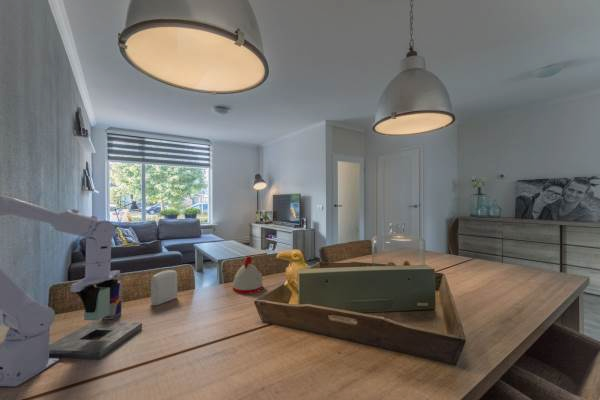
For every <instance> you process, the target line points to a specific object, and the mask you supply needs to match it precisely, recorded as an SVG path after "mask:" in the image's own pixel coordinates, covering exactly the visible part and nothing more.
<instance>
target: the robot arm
mask: <svg viewBox="0 0 600 400" xmlns="http://www.w3.org/2000/svg"><path fill="white" fill-rule="evenodd" d="M79 212H80V211H79V209H74V208H73V209H72V208H71V209H64V210H62V211H61V210H60V211H55V210H51V209H49V208H46V207H42V206H40V205H36V204H34V203H30V202H28V201H24V200H21V199H18V198H15V197H11V196H6V195H3V194H0V216H6V215H8V216H9V215H11V216H16V217H19V218H20V217H21V218H24V219H29V220H34V221H38V222H42V223H48V224H50V225H51V226H52V228H53V230H54V231H57V232H61V233H66V234H70V235H74V236H79V237H82V238H85V239H86V241H85V269H84V270H85V271H84V278H82V279H80V280H78V281H76V282H75V283H71V285H70V292H71V293H76V294H77V295H78V297H79V298H80V300H81V302H82V305H83V307H85V311H86V313H93V312H95V309H96V301H97V296H98V293H99V291H100V289H101V288H96V287H110V297H111V294H112V291H113V289H114V288H115V286H116V284H117V283H118V279H114V278H120V277H121V270H119V269H118V270H116V269H115V270H111V263H112V261H111V259H112V258H111V257H112V240H113V237H114V236H115V235H116V233H117V229H116V228H115V226H114V224H113V223H112V222H111V221H109V220H102V219H98V216H96V215H91V216H90V215H86V214H83V213H79ZM0 315H1V316H2V323H3V325H5V327H7V328H8V330H7V332H6V334H5V338H4V340H3V341H1V342H0V387H13V388H14V387H18V386H20V385H22V384H23V383H25V382H27V381H29V379H31V378H34V376H36V375H37V374H39V373H41V372H43V371H44V370H46V369H47V368H50V367H51V366H52V365H55V364H56V363H57V362H59V361H60V358H49V345H50V343H51V341H50V335H51V326H52V324H54V323H53V322H54V321H55V317H56V313H55V311H54V309H53V308H52V307H50V306H46V305H42V304H40V303H39V302H38V301H37V300H35V298H33V297H31V296H30V295H29V294H28V293H26V292H25V291H24V289H22V288H21V287H20V286H19V284H17V283H16V282H15V281H13V279H12V278H11V277H10V276H8V274H6V273H5V271H4V270H2V268H0Z"/></svg>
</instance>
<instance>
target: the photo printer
mask: <svg viewBox="0 0 600 400" xmlns="http://www.w3.org/2000/svg"><path fill="white" fill-rule="evenodd" d="M177 298H178V272H177V270H174V269H167V270H162V271H160V272H157V273H156V274H154V275H152V276H151V279H150V304H151V306H154V305H156V306H158V305H162V304H164V303H166V302H170V301H172V300H175V299H177Z"/></svg>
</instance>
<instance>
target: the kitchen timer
mask: <svg viewBox="0 0 600 400" xmlns="http://www.w3.org/2000/svg"><path fill="white" fill-rule="evenodd" d="M251 257H252V256H250V255H249V256H247V257H246V259H245V263H244V264H243V265H241V266H240V267H239V269H238V270H237V271H236V274H234V275H233V282H232V291H233V292H234V291H235V292H234V293H236V292H238V293H237V294H242V293H248V294H251V293H250V292H255V291H258V290H260V289H261V288H262V287H263V286H264V285H263V275H262V273H261V272H259V270H258V268H257V267H256V266H255V265H254V264H252V260H253V259H252V258H251ZM262 289H263V288H262ZM260 291H261V290H260ZM258 292H259V291H258ZM255 293H256V292H255Z"/></svg>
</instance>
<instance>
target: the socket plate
mask: <svg viewBox="0 0 600 400" xmlns="http://www.w3.org/2000/svg"><path fill="white" fill-rule="evenodd" d="M142 329H143V322H130V321H103V320H102V321H100V320H98V321H95V320H92V322H90V323H88V324H86V325H84V326H83V327H82V326H81V328H79V329H76V330H75V331H73V332H71V333H69V334H67V335H65V336H64V337H62V338H60V339H58V340H56V341H54V342H52V343H49V358H59V359H72V360H73V359H77V360H78V359H79V360H102V359H103V358H104V357H105V356H107V355H108V354H109V353H111V352H112V351H113V350H115V349H117V348H118V347H119V346H121V345H122V344H123V343H125V342H126V341H127V340H129V339H130V338H132V337H134V335H136V334H137V333H139V332H140V331H141V330H142ZM95 337H100V338H99V339H94V338H95Z"/></svg>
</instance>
